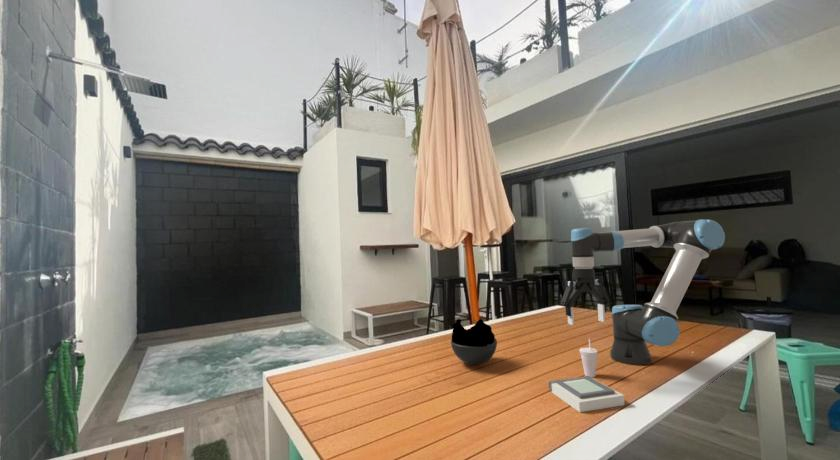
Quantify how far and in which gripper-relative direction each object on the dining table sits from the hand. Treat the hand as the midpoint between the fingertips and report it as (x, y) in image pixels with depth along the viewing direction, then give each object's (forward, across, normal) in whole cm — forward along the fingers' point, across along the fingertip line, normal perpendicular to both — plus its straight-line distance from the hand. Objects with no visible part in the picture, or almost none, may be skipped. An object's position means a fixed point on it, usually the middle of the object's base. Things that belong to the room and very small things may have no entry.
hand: (586, 322), depth 131 cm
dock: (+20, +14, +15) cm, 29 cm away
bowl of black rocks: (+20, +37, -26) cm, 49 cm away
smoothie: (+20, 0, 0) cm, 20 cm away
